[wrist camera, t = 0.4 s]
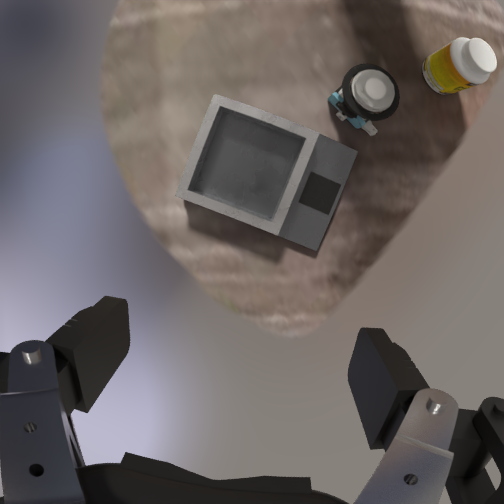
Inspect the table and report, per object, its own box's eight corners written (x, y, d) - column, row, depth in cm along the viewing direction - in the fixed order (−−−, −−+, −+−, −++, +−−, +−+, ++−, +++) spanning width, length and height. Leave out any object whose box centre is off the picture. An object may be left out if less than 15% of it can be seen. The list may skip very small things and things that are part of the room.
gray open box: (221, 98, 33) (216, 89, 29) (355, 152, 34) (366, 149, 29) (183, 197, 35) (173, 200, 31) (315, 248, 36) (321, 258, 32)
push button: (385, 121, 32) (424, 106, 23) (355, 150, 34) (388, 142, 24) (345, 79, 32) (372, 49, 22) (314, 107, 33) (332, 84, 23)
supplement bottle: (437, 102, 31) (484, 87, 21) (412, 65, 30) (453, 39, 21) (462, 85, 30) (509, 69, 21) (438, 50, 30) (480, 24, 20)
